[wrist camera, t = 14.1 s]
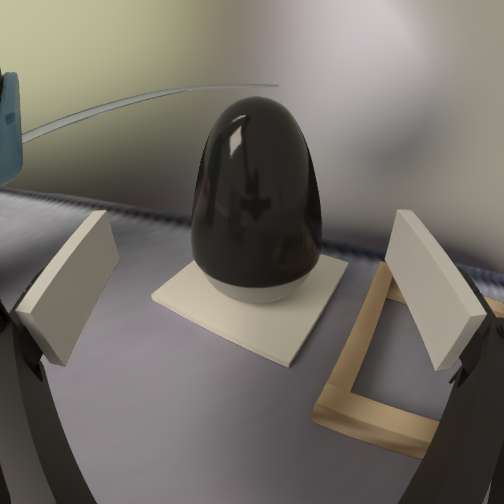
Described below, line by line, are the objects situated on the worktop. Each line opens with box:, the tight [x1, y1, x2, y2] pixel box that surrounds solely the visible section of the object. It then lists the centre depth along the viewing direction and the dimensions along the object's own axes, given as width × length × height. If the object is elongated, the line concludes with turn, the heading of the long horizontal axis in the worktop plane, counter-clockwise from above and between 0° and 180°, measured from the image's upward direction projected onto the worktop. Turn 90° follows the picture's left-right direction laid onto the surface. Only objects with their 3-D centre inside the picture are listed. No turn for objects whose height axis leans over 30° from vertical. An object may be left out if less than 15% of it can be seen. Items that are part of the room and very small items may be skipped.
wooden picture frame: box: [310, 261, 504, 459], centre depth 18 cm, size 15×15×2 cm
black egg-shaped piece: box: [191, 96, 322, 304], centre depth 22 cm, size 10×10×15 cm
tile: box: [151, 254, 348, 368], centre depth 27 cm, size 13×13×1 cm
